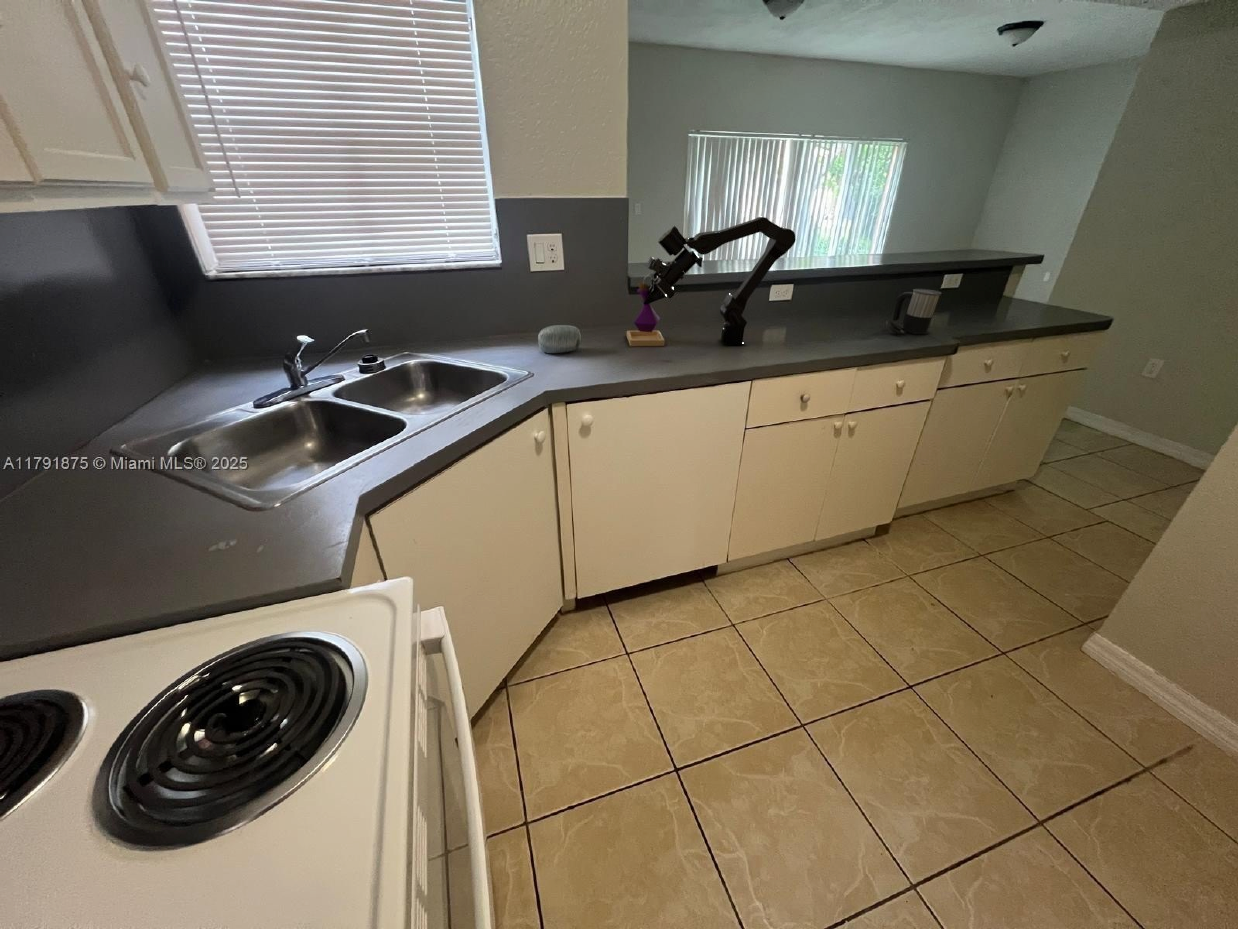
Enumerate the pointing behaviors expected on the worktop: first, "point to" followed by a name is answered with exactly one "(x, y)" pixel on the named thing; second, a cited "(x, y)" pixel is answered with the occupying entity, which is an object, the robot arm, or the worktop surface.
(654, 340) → the wooden tray
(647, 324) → the perfume bottle
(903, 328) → the milk frother
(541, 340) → the grey rounded pouf
